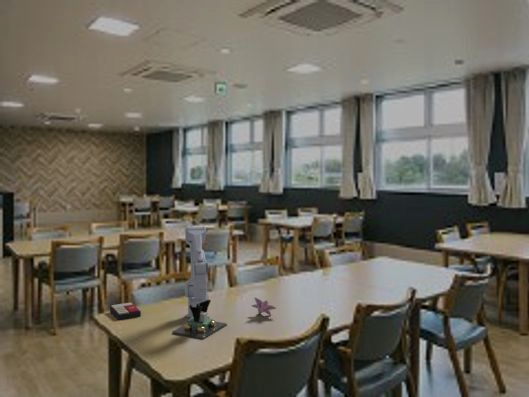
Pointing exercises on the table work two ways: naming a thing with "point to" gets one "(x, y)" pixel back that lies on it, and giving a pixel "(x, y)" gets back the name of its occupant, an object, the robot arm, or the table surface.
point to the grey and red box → (125, 311)
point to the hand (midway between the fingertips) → (200, 318)
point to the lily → (263, 306)
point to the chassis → (199, 330)
